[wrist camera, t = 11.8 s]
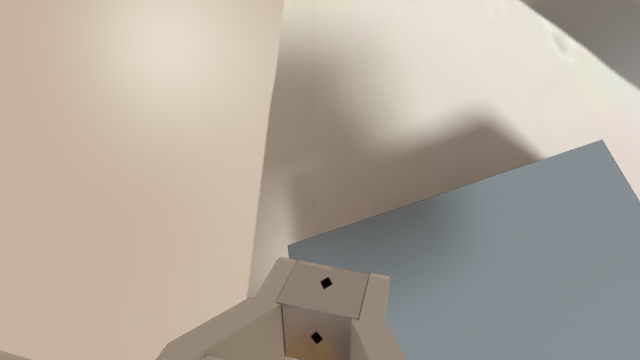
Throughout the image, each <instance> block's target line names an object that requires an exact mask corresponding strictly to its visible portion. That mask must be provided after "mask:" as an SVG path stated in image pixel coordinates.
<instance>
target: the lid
mask: <svg viewBox="0 0 640 360" xmlns="http://www.w3.org/2000/svg"><path fill="white" fill-rule="evenodd" d="M288 253H289V259H293V260H300V261H305V262H310V263H315V264H320V265H325V266H330V267H336V268H342V269H347V270H353V271H359V272H365V273H370V274H371V273H373V274H380V275H386V276H390V286H389V296H388V306H387V315H386V324H385V326H388V327H389V329H390V331H391V333H392V335H393V336H394V338H395V340H396V342H397V344H398V345H399V347H400V349H401V351H402V353H403V354H404V356H405V358H406V360H640V201H639V200H638V198H637V196H636V195H635V193H634V191H633V190H632V188H631V186H630V185H629V183H628V181H627V180H626V178H625V176H624V175H623V173H622V171H621V170H620V168H619V166H618V165H617V163H616V161H615V160H614V158H613V157H612V155H611V153H610V152H609V150H608V148H607V147H606V145H605V143H604V142H603V140H599V141H596V142H593V143H591V144H588V145H585V146H582V147H579V148H576V149H573V150H570V151H567V152H564V153H561V154H558V155H555V156H552V157H549V158H546V159H543V160H540V161H537V162H534V163H531V164H528V165H525V166H522V167H519V168H516V169H513V170H510V171H507V172H504V173H501V174H498V175H496V176H493V177H490V178H487V179H484V180H481V181H478V182H475V183H472V184H469V185H466V186H463V187H460V188H457V189H454V190H451V191H448V192H445V193H442V194H439V195H436V196H433V197H430V198H427V199H424V200H421V201H418V202H415V203H412V204H409V205H406V206H404V207H401V208H398V209H395V210H392V211H389V212H386V213H383V214H380V215H377V216H374V217H371V218H368V219H365V220H362V221H359V222H356V223H353V224H350V225H347V226H344V227H341V228H338V229H335V230H332V231H329V232H326V233H323V234H320V235H317V236H314V237H311V238H309V239H306V240H303V241H300V242H297V243H294V244H291V245H288ZM299 360H301V359H299Z"/></svg>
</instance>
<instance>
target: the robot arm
mask: <svg viewBox="0 0 640 360" xmlns="http://www.w3.org/2000/svg"><path fill="white" fill-rule="evenodd" d="M389 286H390V276H386V275H380V274H373V273H371V274H370V273H365V272H359V271H353V270H347V269H342V268H336V267H330V266H325V265H320V264H315V263H310V262H305V261H300V260H293V259H288V258H283V257H280V258H279V259H278V260H277V261H276V263H275V265H274V266H273V268H272V270H271V271H270V273H269V275H268V277H267V278H266V280H265V282H264V284H263V285H262V287H261V289H260V291H259V292H258V294H257V296H256V298H255V299H254V298H248V299H246V300H245V301H243V302H241V303H239V304H238V305H236V306H234V307H232V308H230V309H229V310H227V311H225V312H223V313H222V314H220V315H218V316H216V317H214V318H213V319H211V320H209V321H207V322H206V323H204V324H202V325H200V326H198V327H197V328H195V329H193V330H191V331H190V332H188V333H186V334H184V335H182V336H181V337H179V338H177V339H175V340H174V341H172V342H170V343H168V344H167V346H166V347H165V348H164V350H163V351H162V352H161V354H160V355H159V357H158V358H157V359H156V360H283V359H285V356H287V357H292V358H297V359H301V360H406V358H405V356H404V354H403V353H402V351H401V349H400V347H399V345H398V344H397V342H396V340H395V338H394V336H393V335H392V333H391V331H390V329H389V327H388V326H385V324H386V315H387V306H388V296H389ZM0 360H31V359H28V358H24V357H21V356H17V355H14V354H10V353H7V352H3V351H0Z"/></svg>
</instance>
